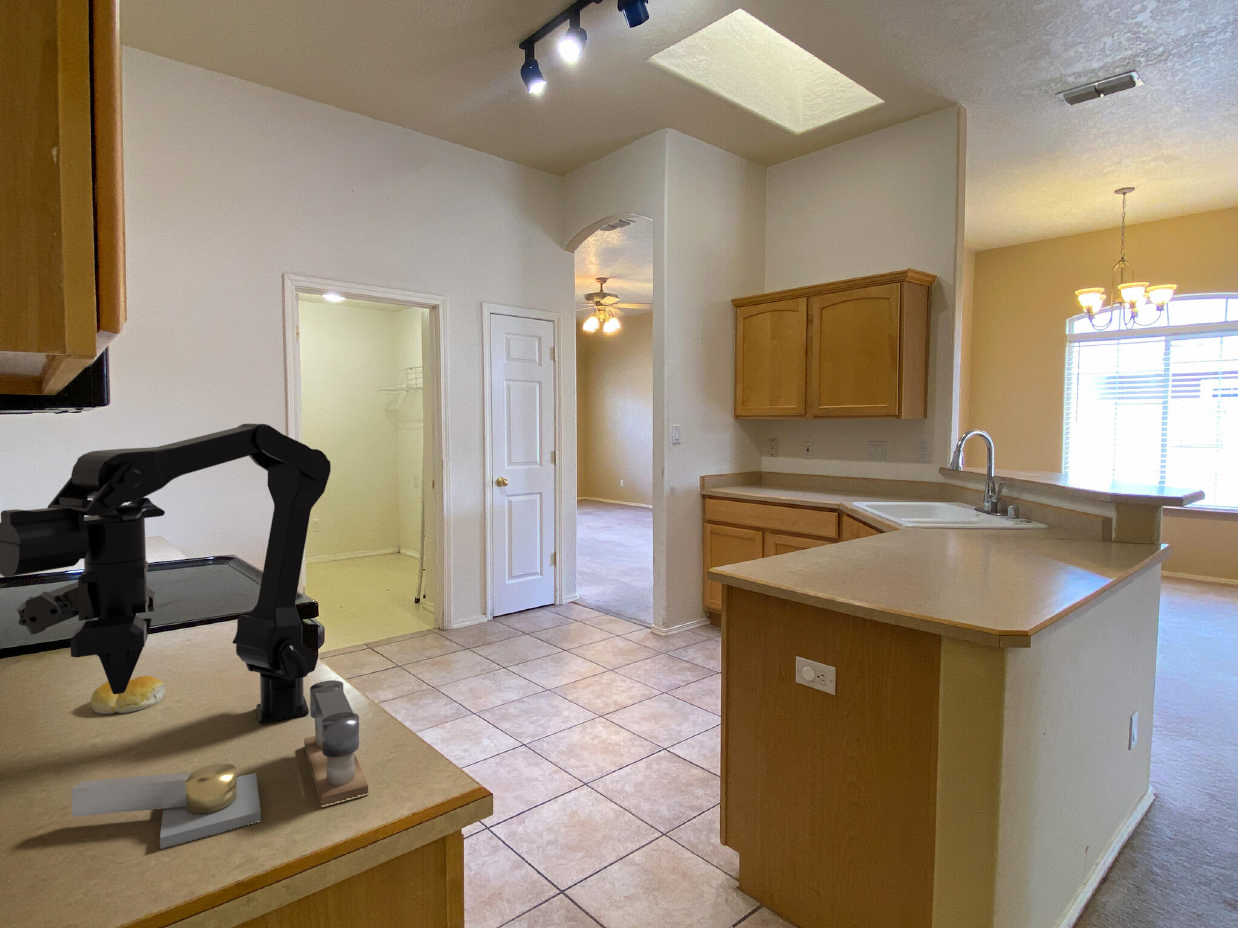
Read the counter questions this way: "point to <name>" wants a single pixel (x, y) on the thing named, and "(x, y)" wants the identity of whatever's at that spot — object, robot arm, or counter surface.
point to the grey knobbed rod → (334, 719)
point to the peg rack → (334, 772)
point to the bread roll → (128, 696)
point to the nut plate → (212, 816)
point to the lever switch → (158, 792)
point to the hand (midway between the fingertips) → (120, 689)
